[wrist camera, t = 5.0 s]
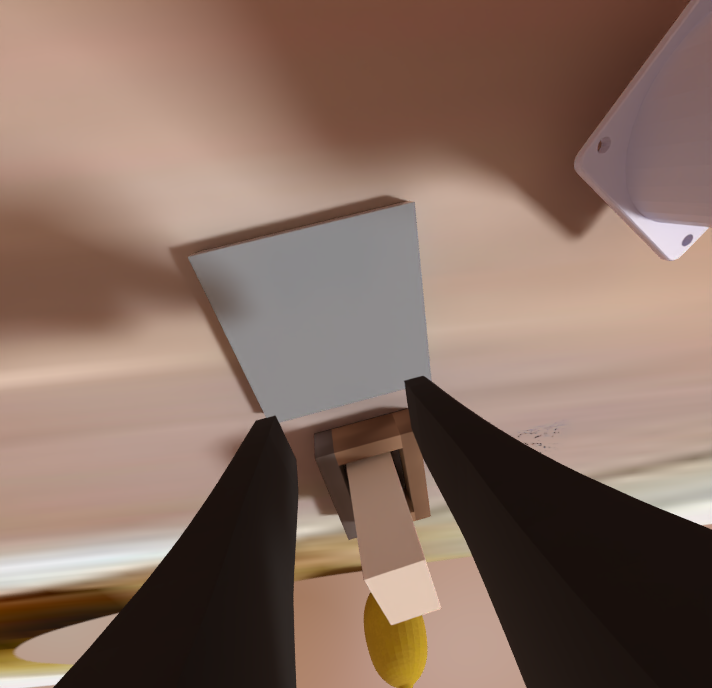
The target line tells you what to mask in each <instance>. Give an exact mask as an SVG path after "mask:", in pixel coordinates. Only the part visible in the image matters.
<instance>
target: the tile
mask: <svg viewBox="0 0 712 688" xmlns="http://www.w3.org/2000/svg"><path fill="white" fill-rule="evenodd" d="M188 259H189V261H190V263H191V265H192V267H193V269H194V271H195V273H196V275H197V277H198V279H199V281H200V283H201V285H202V287H203V290H204V292H205V294H206V296H207V298H208V300H209V302H210V304H211V306H212V308H213V310H214V312H215V314H216V316H217V318H218V320H219V322H220V324H221V326H222V328H223V330H224V332H225V335H226V337H227V339H228V341H229V343H230V345H231V347H232V349H233V351H234V353H235V355H236V357H237V359H238V361H239V363H240V365H241V367H242V369H243V371H244V373H245V375H246V377H247V379H248V382H249V384H250V386H251V388H252V390H253V392H254V394H255V396H256V398H257V400H258V402H259V404H260V406H261V408H262V410H263V412H264V414H265V416H266V418H268V417H271V416H275V415H276V417H277V419H278V422H279V423H280V422H284V421H288V420H291V419H295V418H299V417H302V416H306V415H310V414H314V413H317V412H321V411H325V410H328V409H332V408H336V407H340V406H343V405H347V404H351V403H354V402H358V401H362V400H366V399H369V398H373V397H377V396H380V395H384V394H388V393H392V392H395V391H399V390H403V389H405V383H404V381H405V380H409V379H412V378H416V377H420V376H425V377H426V378H428V379H429V380H430V381H431V371H430V360H429V349H428V339H427V328H426V317H425V307H424V296H423V285H422V275H421V264H420V253H419V243H418V232H417V221H416V210H415V202H412V201H406V202H401V203H397V204H393V205H389V206H385V207H381V208H377V209H373V210H369V211H364V212H360V213H356V214H352V215H348V216H344V217H340V218H336V219H331V220H327V221H323V222H319V223H315V224H311V225H307V226H303V227H298V228H294V229H290V230H286V231H282V232H278V233H274V234H270V235H265V236H261V237H257V238H253V239H249V240H245V241H241V242H237V243H232V244H228V245H224V246H220V247H216V248H212V249H208V250H204V251H199V252H195V253H194V254H192V255H190V256H188Z"/></svg>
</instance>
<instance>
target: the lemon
mask: <svg viewBox="0 0 712 688" xmlns="http://www.w3.org/2000/svg"><path fill="white" fill-rule="evenodd" d="M364 631H365V637H366V642H367V647H368V650H369V654H370V657H371V660H372V662H373V665H374V667H375V669H376V671H377V672H378V674H379V675H380V676H381V677H382V679H383V680H385V681H386V682H387V683H388V684H390V685H391V686H394V687H396V688H413V684H414V683H415V682H416V681H417V680H418V679H419V677H420V676H421V674H422V672H423V670H424V667H425V664H426V660H427V637H426V630H425V625H424V620H423V617H422V615H421V616H418V617H415V618H412V619H409V620H406V621H403V622H400V623H397V624H394V625H391V624H390V623H389V621H388V619H387V618H386V616H385V614H384V613H383V611H382V609H381V608H380V606H379V604H378V603H377V601H376V599H375V598H374V596H373V594H372V593H370V594H369V596H368V599H367V602H366V605H365V610H364Z"/></svg>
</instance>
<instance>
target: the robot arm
mask: <svg viewBox="0 0 712 688" xmlns="http://www.w3.org/2000/svg"><path fill="white" fill-rule="evenodd" d="M600 140H601V142H602V143H601V148H600V150H599V151H598V150H597V149H598V144H599V142H600ZM574 169H575V171H576V172H577V173H578V175H579V176H580V177H581V178H582V179H583V180H584V181H585V182H586V183H587V184H588V185H589V186H590V187H591V188H592V189H593V190H594V191H595V192H596V193H597V194H598V195H599V196H600V197H601V198H602V199H603V200H604V201H605V202H606V203H607V204H608V205H609V206H610V207H611V208H612V209H613V210H614V211H615V212H616V213H617V214H618V215H619V216H620V217H621V218H622V219H623V220H624V221H625V222H626V223H627V224H628V225H629V226H630V228H631V229H632V230H633V231H634V232H635V233H636V234H637V235H638V236H639V237H640V238H641V239H642V240H643V241H644V242H645V243H646V244H647V245H648V246H649V247H650V248H651V249H652V250H653V251H654V252H655V253H656V254H657V255H658V256H659V257H660V258H661V259H663V260H668V261H673V260H676V259H678V258H679V257H680V256H682V255H683V254H684V253H685V252H686V251H687V250H688V249H689V247H690V246H691V245H692V244H693V243H694V242H695V241H696V240H697V239H698V238H699V237H700V236H701V235H702V234H703V233H704V232H705V231H706V230H707V229H708V228H709V227H712V0H691V1H690V2H689V3H688V5H687V6H686V7H685V9H684V10H683V11H682V13H681V14H680V15H679V17H678V18H677V20H676V21H675V22H674V24H673V25H672V26H671V28H670V29H669V30H668V32H667V33H666V34H665V36H664V37H663V38H662V40H661V41H660V42H659V44H658V45H657V47H656V48H655V49H654V51H653V52H652V53H651V55H650V56H649V57H648V59H647V60H646V61H645V63H644V64H643V65H642V67H641V68H640V70H639V71H638V72H637V74H636V75H635V76H634V78H633V79H632V80H631V82H630V83H629V84H628V86H627V87H626V88H625V90H624V91H623V92H622V94H621V95H620V97H619V98H618V99H617V101H616V102H615V103H614V105H613V106H612V107H611V109H610V110H609V111H608V113H607V114H606V115H605V117H604V118H603V120H602V121H601V122H600V124H599V125H598V126H597V128H596V129H595V130H594V132H593V133H592V134H591V136H590V137H589V138H588V140H587V141H586V142H585V144H584V145H583V147H582V148H581V149H580V151H579V152H578V154H577V156H576V157H575V161H574ZM404 383H405V390H406V396H407V403H408V409H409V416H410V422H411V428H412V431H413V434H414V436H415V439H416V441H417V444H418V447H419V449H420V452H421V454H422V457H423V459H424V461H425V463H426V465H427V467H428V469H429V470H430V472H431V474H432V476H433V478H434V480H435V482H436V484H437V486H438V488H439V490H440V492H441V493H442V495H443V497H444V499H445V501H446V503H447V505H448V507H449V509H450V511H451V513H452V515H453V516H454V518H455V520H456V522H457V524H458V526H459V528H460V530H461V532H462V534H463V536H464V538H465V540H466V542H467V545H468V547H469V549H470V551H471V554H472V556H473V558H474V561H475V563H476V565H477V568H478V570H479V572H480V575H481V577H482V579H483V582H484V584H485V587H486V589H487V591H488V594H489V596H490V599H491V601H492V603H493V606H494V608H495V611H496V613H497V616H498V618H499V620H500V623H501V625H502V628H503V630H504V632H505V635H506V637H507V640H508V642H509V645H510V647H511V650H512V652H513V655H514V657H515V660H516V662H517V665H518V667H519V670H520V672H521V675H522V677H523V680H524V682H525V685H526V687H527V688H712V530H711V529H709V528H706V527H704V526H702V525H699V524H697V523H694V522H692V521H689V520H687V519H684V518H682V517H679V516H677V515H674V514H672V513H669V512H667V511H664V510H662V509H659V508H657V507H654V506H652V505H650V504H647V503H645V502H643V501H640V500H638V499H636V498H634V497H631V496H629V495H627V494H625V493H622V492H620V491H618V490H616V489H614V488H611V487H609V486H607V485H605V484H602V483H600V482H598V481H596V480H594V479H591V478H589V477H587V476H585V475H583V474H580V473H578V472H576V471H574V470H572V469H570V468H568V467H566V466H564V465H562V464H560V463H558V462H556V461H555V460H553V459H551V458H549V457H547V456H545V455H543V454H541V453H539V452H538V451H536V450H534V449H532V448H530V447H529V446H527V445H525V444H523V443H522V442H520V441H518V440H516V439H515V438H513V437H511V436H510V435H508V434H507V433H505V432H503V431H502V430H500V429H498V428H497V427H495V426H494V425H492V424H490V423H489V422H487V421H486V420H484V419H483V418H481V417H480V416H478V415H477V414H475V413H474V412H472V411H471V410H470V409H468V408H467V407H465V406H464V405H462V404H461V403H460V402H458V401H457V400H455V399H454V398H453V397H451V396H450V395H449V394H447V393H446V392H445V391H443V390H442V389H441V388H439V387H438V386H437V385H435V384H434V383H433V382H432V381H430V380H429V379H428V378H426V377H425V376H420V377H416V378H412V379H409V380H405V381H404ZM297 511H298V477H297V463H296V458H295V456H294V454H293V452H292V450H291V447H290V445H289V443H288V441H287V439H286V437H285V435H284V432H283V430H282V428H281V426H280V424H279V422H278V419H277V417H276V415H275V416H271V417H268V418H264V419H260V420H257V421H255V423H254V425H253V426H252V428H251V429H250V431H249V433H248V434H247V436H246V437H245V439H244V441H243V442H242V444H241V446H240V447H239V449H238V451H237V452H236V454H235V456H234V457H233V459H232V461H231V462H230V464H229V465H228V467H227V469H226V470H225V472H224V473H223V475H222V476H221V478H220V480H219V481H218V483H217V484H216V486H215V488H214V489H213V491H212V492H211V494H210V495H209V497H208V498H207V499H206V501H205V502H204V504H203V505H202V507H201V508H200V510H199V511H198V513H197V514H196V516H195V517H194V518H193V520H192V521H191V523H190V524H189V526H188V527H187V528H186V530H185V531H184V533H183V534H182V535H181V537H180V538H179V539H178V541H177V542H176V543H175V545H174V546H173V547H172V549H171V550H170V551H169V553H168V554H167V555H166V556H165V558H164V559H163V560H162V562H161V563H160V564H159V565H158V567H157V568H156V569H155V570H154V572H153V573H152V574H151V576H150V577H149V578H148V579H147V581H146V582H145V583H144V584H143V586H142V587H141V588H140V589H139V590H138V592H137V593H136V594H135V595H134V596H133V597H132V599H131V600H130V601H129V602H128V603H127V604H126V606H125V607H124V608H123V609H122V610H121V611H120V613H119V614H118V615H117V616H116V617H115V618H114V620H113V621H112V622H111V623H110V624H109V626H108V627H107V628H106V629H105V630H104V631H103V632H102V634H101V635H100V636H99V637H98V638H97V639H96V641H95V642H94V643H93V644H92V645H91V646H90V648H89V649H88V650H87V651H86V652H85V653H84V654H83V655H82V657H81V658H80V659H79V660H78V661H77V662H76V663H75V664H74V665H73V666H72V668H71V669H70V670H69V671H68V672H67V673H66V674H65V675H64V676H63V677H62V679H61V680H60V681H59V682H58V683H57V684H56V685H55V686H54V687H53V688H296V671H295V670H296V669H295V643H294V608H293V591H294V589H293V588H294V586H293V585H294V565H295V547H296V530H297Z"/></svg>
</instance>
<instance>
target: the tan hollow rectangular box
mask: <svg viewBox="0 0 712 688" xmlns="http://www.w3.org/2000/svg"><path fill="white" fill-rule="evenodd" d="M314 446H315V460H316V462H317V464H318V467H319V469H320V472H321V474H322V476H323V479H324V481H325V484H326V486H327V489H328V491H329V493H330V496H331V498H332V501H333V503H334V505H335V508H336V510H337V513H338V515H339V518H340V520H341V522H342V525H343V527H344V530H345V532H346V534H347V537H348V539H349V540H350V539H354V538H357V532H356V526H355V519H354V513H353V506H352V500H351V493H350V486H349V480H348V476H347V473H346V470H345V467H344V464H347V463H350V462H354V461H358V460H361V459H365V458H368V457H372V456H376V455H379V454H383V453H386V452H390V451H394V450H397V449H399V453H400V458H401V464H402V469H403V474H404V479H405V484H406V488H405V489H402V490H403V493H404V496H405V499H406V502H407V505H408V508H409V511H410V514H411V517H412V520H413V521H416V520H419V519H423V518H426V517H430V516H431V515H430V508H429V500H428V493H427V485H426V478H425V470H424V463H423V457H422V454H421V452H420V449H419V447H418V444H417V441H416V439H415V436H414V434H413V431H412V428H411V422H410V416H409V409H405V410H401V411H397V412H394V413H390V414H386V415H383V416H379V417H375V418H372V419H368V420H364V421H360V422H357V423H353V424H349V425H346V426H342V427H338V428H335V429H331V430H327V431H324V432H320V433H316V434H314Z"/></svg>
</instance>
